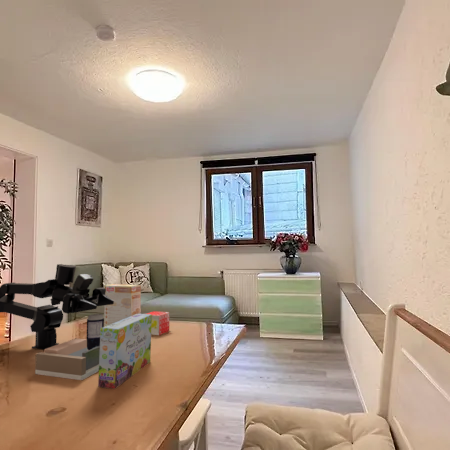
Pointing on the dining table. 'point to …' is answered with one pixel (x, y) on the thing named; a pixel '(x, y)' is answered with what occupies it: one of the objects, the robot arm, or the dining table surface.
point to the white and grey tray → (63, 366)
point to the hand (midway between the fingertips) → (105, 304)
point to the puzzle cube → (159, 322)
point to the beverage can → (94, 330)
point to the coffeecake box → (122, 302)
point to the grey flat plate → (92, 357)
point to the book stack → (69, 347)
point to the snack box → (124, 349)
